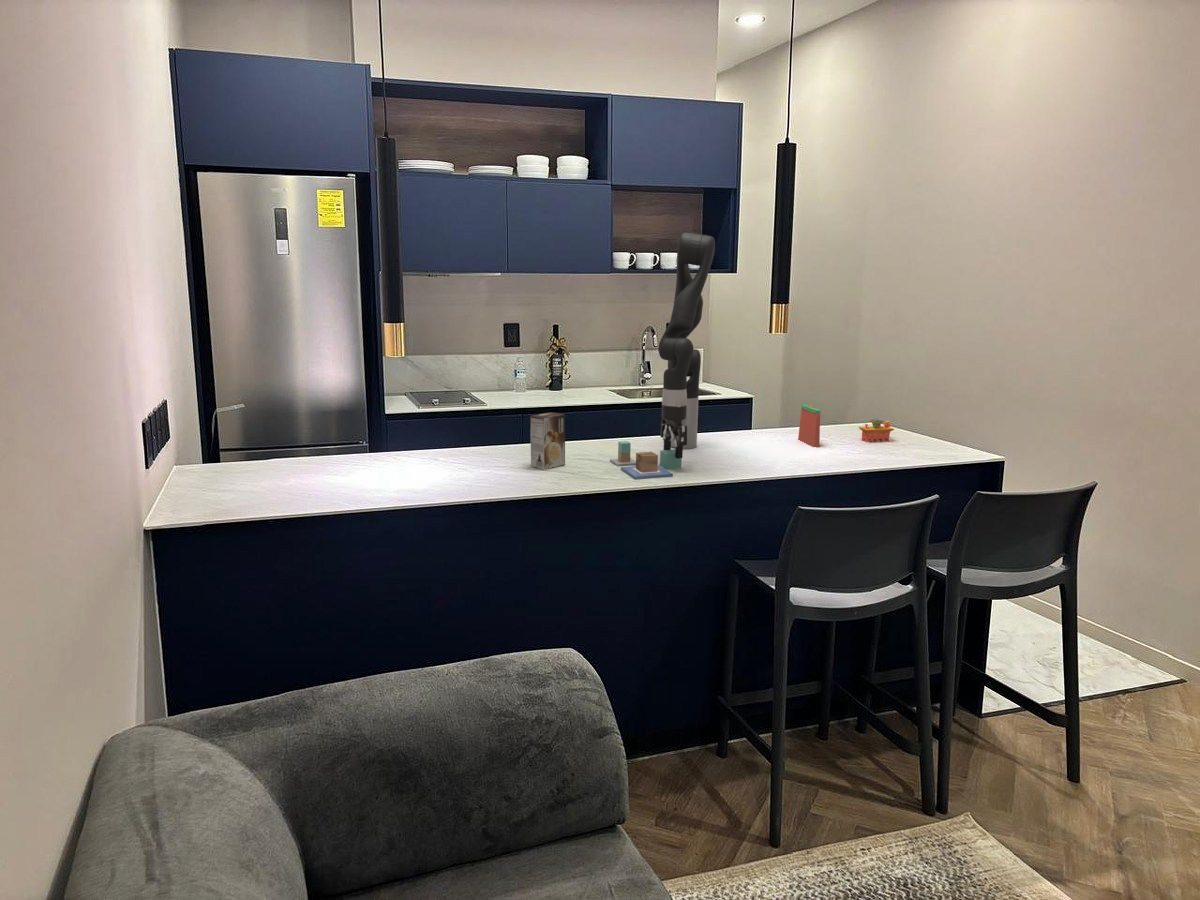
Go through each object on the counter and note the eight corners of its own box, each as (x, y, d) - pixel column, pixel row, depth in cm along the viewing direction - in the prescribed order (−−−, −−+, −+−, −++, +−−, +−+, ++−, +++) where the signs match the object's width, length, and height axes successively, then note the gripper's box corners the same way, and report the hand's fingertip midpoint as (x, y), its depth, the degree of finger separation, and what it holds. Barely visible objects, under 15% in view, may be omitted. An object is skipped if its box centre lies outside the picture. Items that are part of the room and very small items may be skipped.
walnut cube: (635, 468, 263) (636, 452, 262) (651, 467, 265) (651, 451, 264) (642, 472, 259) (642, 456, 258) (657, 471, 260) (657, 455, 259)
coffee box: (551, 461, 275) (551, 411, 271) (565, 465, 270) (565, 414, 267) (529, 466, 268) (529, 415, 264) (544, 470, 264) (544, 418, 260)
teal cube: (659, 466, 271) (660, 450, 270) (674, 464, 273) (675, 449, 272) (666, 469, 267) (666, 453, 266) (681, 468, 268) (681, 452, 267)
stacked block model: (609, 461, 276) (610, 440, 275) (630, 459, 278) (630, 439, 277) (617, 466, 270) (617, 445, 268) (638, 464, 272) (638, 444, 271)
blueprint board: (620, 469, 266) (621, 466, 265) (657, 467, 269) (657, 464, 269) (635, 479, 254) (635, 476, 254) (672, 476, 258) (673, 473, 258)
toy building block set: (797, 440, 311) (800, 401, 308) (885, 436, 319) (889, 398, 316) (814, 448, 300) (816, 407, 296) (905, 444, 307) (908, 404, 304)
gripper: (653, 400, 270) (652, 451, 274) (672, 407, 257) (671, 461, 260) (675, 399, 273) (674, 450, 276) (695, 406, 260) (694, 459, 263)
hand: (672, 455), depth 268 cm, fingers open, 8 cm apart
